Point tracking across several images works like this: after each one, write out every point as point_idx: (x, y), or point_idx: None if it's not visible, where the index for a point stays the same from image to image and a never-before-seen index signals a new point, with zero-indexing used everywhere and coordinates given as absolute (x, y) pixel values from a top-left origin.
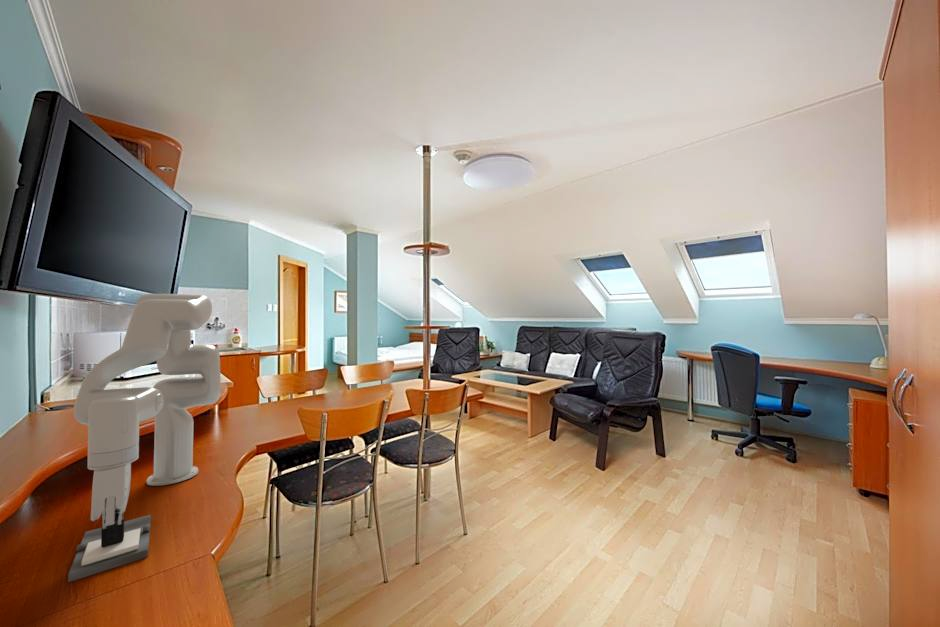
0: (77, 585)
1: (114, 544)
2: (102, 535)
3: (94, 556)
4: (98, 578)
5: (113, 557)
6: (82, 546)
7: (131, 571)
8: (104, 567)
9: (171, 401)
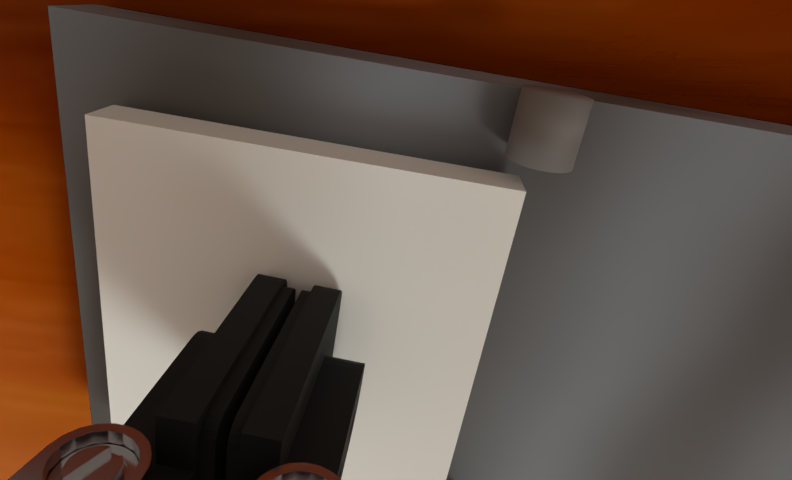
0: (22, 60)
1: None
2: (209, 352)
3: (110, 209)
4: (38, 178)
5: None
6: (514, 138)
7: (3, 328)
8: None
9: None
